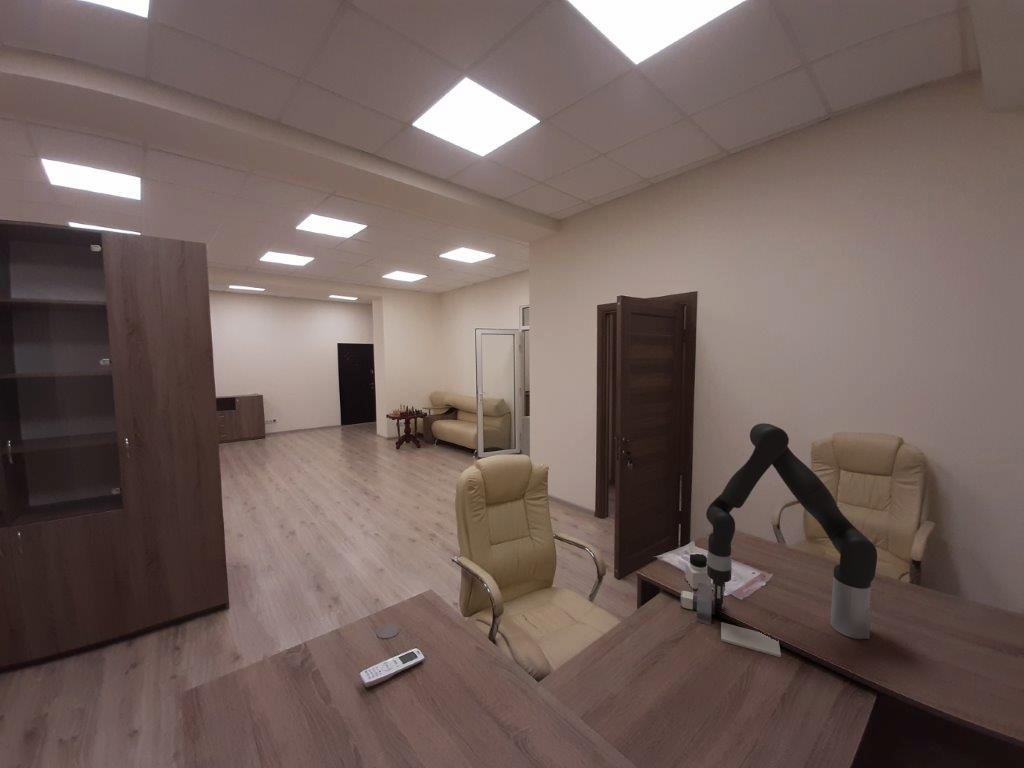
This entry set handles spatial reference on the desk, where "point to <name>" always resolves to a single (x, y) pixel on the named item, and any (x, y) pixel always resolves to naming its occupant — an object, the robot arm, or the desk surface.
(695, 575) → the medicine bottle
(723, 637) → the mat
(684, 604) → the plug bar
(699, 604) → the shaft block
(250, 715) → the desk surface
